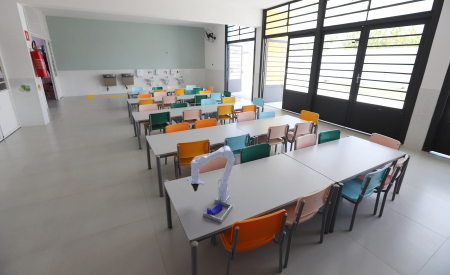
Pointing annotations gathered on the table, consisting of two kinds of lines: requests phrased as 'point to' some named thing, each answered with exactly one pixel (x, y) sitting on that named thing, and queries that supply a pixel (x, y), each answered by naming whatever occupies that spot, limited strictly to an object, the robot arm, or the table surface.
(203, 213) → the bracket
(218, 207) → the cable clip
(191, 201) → the table surface
